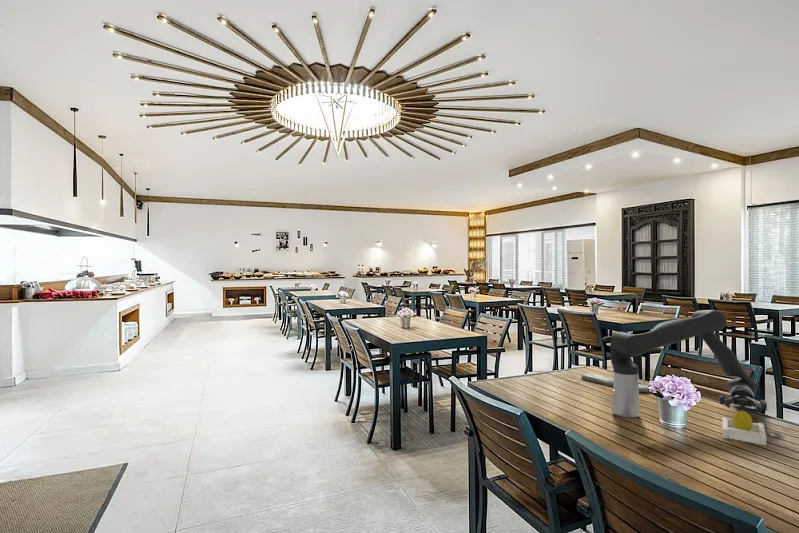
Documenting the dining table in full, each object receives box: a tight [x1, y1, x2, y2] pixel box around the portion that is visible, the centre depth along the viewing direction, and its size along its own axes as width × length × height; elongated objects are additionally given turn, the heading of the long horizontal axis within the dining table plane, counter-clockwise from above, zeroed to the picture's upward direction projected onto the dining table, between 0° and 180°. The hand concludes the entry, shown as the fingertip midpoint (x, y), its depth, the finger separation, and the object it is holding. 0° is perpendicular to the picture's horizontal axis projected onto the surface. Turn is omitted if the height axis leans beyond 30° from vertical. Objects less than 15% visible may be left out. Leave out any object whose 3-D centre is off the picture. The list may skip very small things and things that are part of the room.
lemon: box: [732, 410, 754, 431], centre depth 161 cm, size 6×6×8 cm
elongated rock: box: [580, 372, 649, 393], centre depth 226 cm, size 35×5×10 cm
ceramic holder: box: [721, 416, 767, 446], centre depth 161 cm, size 12×15×3 cm
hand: (742, 407), depth 166 cm, fingers open, 8 cm apart
